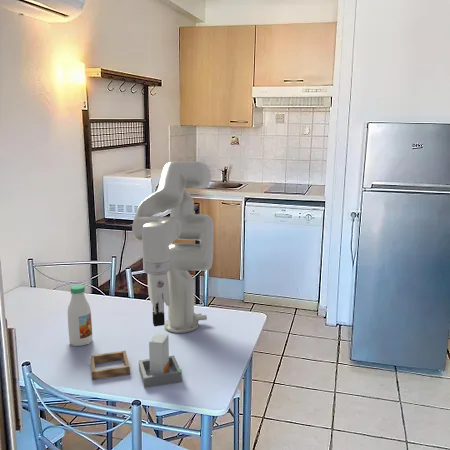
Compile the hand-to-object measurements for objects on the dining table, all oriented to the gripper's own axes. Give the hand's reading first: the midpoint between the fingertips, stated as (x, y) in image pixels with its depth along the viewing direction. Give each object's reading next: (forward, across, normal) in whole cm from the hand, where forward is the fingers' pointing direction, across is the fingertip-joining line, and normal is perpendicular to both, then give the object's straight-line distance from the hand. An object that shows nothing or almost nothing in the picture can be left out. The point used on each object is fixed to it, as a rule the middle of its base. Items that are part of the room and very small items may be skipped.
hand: (158, 324), depth 142 cm
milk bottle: (+17, +30, +22) cm, 41 cm away
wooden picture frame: (+16, +8, +14) cm, 23 cm away
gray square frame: (+16, -1, 0) cm, 16 cm away
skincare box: (+16, -1, 0) cm, 16 cm away
